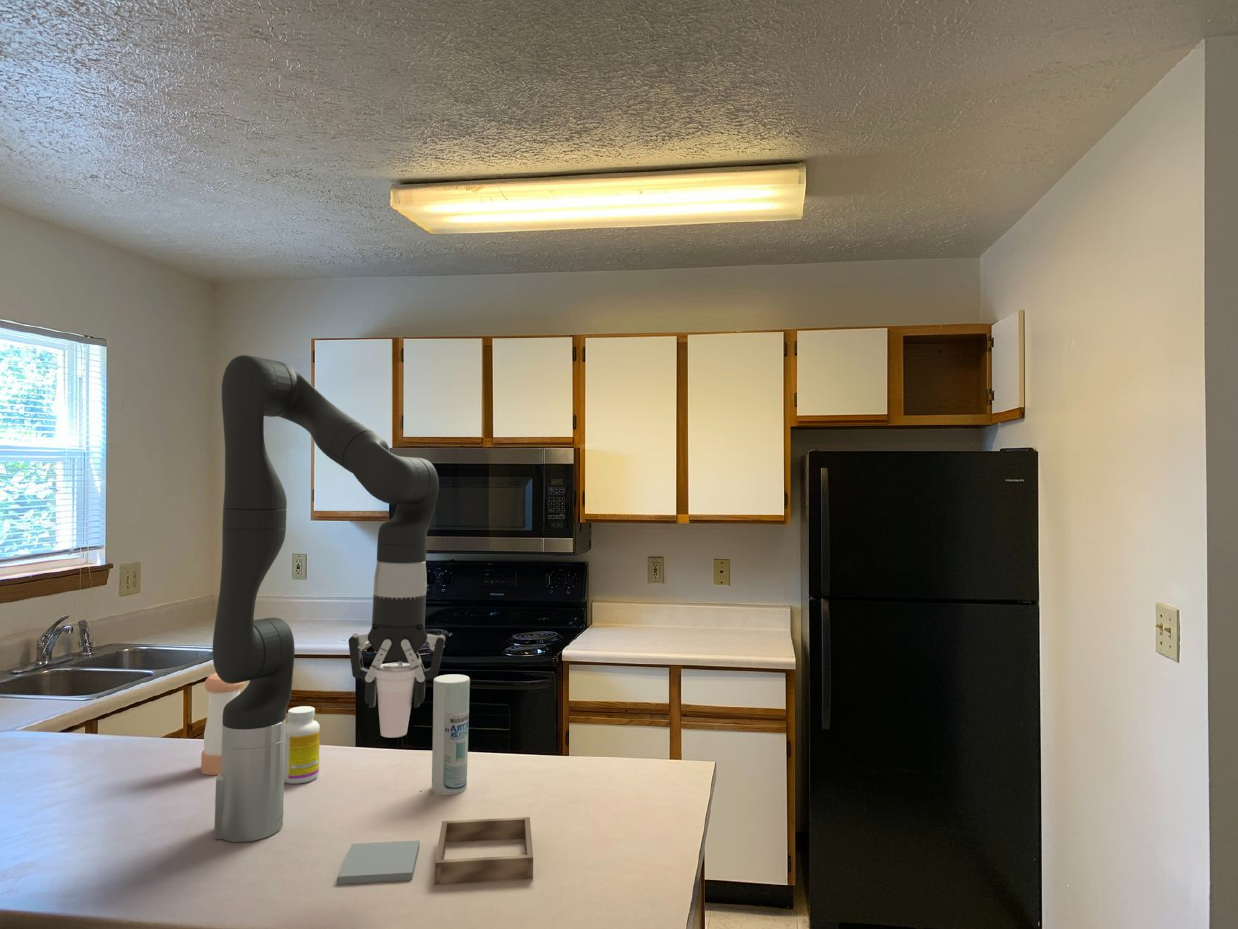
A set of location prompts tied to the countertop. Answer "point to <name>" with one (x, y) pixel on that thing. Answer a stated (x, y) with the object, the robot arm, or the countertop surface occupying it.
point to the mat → (379, 862)
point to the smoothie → (394, 697)
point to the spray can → (450, 734)
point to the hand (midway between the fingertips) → (394, 705)
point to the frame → (486, 866)
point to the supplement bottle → (301, 746)
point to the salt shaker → (216, 721)
